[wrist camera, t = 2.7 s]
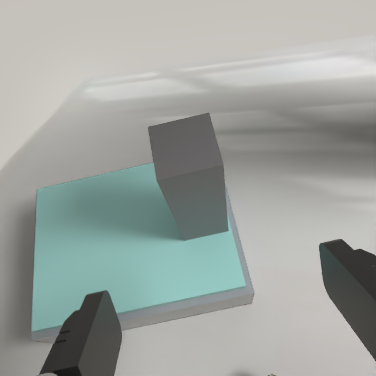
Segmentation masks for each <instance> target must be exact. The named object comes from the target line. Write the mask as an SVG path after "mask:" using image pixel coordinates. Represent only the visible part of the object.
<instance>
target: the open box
mask: <svg viewBox="0 0 376 376" xmlns="http://www.w3.org/2000/svg"><path fill="white" fill-rule="evenodd" d="M225 193H226V205H227V214H228V218H229V222H230V225H231V229H232V233H233V237H234V241H235V245H236V249H237V252H238V256H239V260H240V264H241V268H242V272H243V276H244V280H245V283H246V288H242V289H237V290H233V291H228V292H223V293H219V294H214V295H209V296H205V297H200V298H195V299H191V300H186V301H181V302H176V303H172V304H167V305H162V306H158V307H153V308H148V309H144V310H139V311H134V312H130V313H125V314H120V315H117V316H118V319H119V322H120V325H121V331H123V330H127V329H132V328H137V327H142V326H146V325H151V324H156V323H161V322H165V321H170V320H175V319H179V318H184V317H189V316H194V315H198V314H203V313H208V312H213V311H217V310H222V309H227V308H231V307H236V306H241V305H246V304H250V303H252V301H253V297H254V290H253V286H252V282H251V279H250V275H249V271H248V267H247V264H246V260H245V256H244V252H243V249H242V245H241V241H240V238H239V234H238V230H237V226H236V223H235V219H234V215H233V211H232V208H231V204H230V200H229V196H228V193H227V189H226V185H225ZM36 203H37V195H36ZM35 228H36V219H35ZM34 253H35V244H34ZM33 278H34V268H33ZM32 302H33V293H32ZM31 327H32V317H31ZM60 330H61V327H59V328H55V329H50V330H45V331H41V332H32V331H31V341H40V342H52V343H55V340H56V338H57V336H58V335H59V332H60Z"/></svg>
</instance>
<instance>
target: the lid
mask: <svg viewBox="0 0 376 376" xmlns="http://www.w3.org/2000/svg"><path fill="white" fill-rule="evenodd" d="M148 130H149V136H150V143H151V149H152V155H153V163H149V164H144V165H140V166H136V167H131V168H127V169H123V170H118V171H114V172H110V173H105V174H101V175H97V176H92V177H88V178H84V179H79V180H75V181H71V182H66V183H62V184H57V185H53V186H49V187H44V188H40V189H37V203H36V228H35V253H34V278H33V302H32V327H31V331H32V332H41V331H45V330H50V329H55V328H59V327H62V325H63V323H64V321H65V320H66V319H67V318H68V317H69V316H70V315H71V314H72V313H73V312H74V311H76V310H79V309H80V307H81V305H82V303H83V300H84V298H85V296H86V295H87V294H91V293H95V292H100V291H104V290H107V291H108V292H109V294H110V296H111V299H112V302H113V305H114V308H115V311H116V313H117V315H120V314H125V313H130V312H134V311H139V310H144V309H148V308H153V307H158V306H162V305H167V304H172V303H176V302H181V301H186V300H191V299H195V298H200V297H205V296H209V295H214V294H219V293H223V292H228V291H233V290H237V289H242V288H246V283H245V280H244V276H243V272H242V268H241V264H240V260H239V256H238V252H237V249H236V245H235V241H234V237H233V233H232V229H231V225H230V222H229V218H228V214H227V205H226V193H225V180H224V168H223V162H222V159H221V155H220V151H219V148H218V144H217V140H216V137H215V133H214V129H213V126H212V122H211V118H210V115H209V113H206V114H202V115H197V116H193V117H189V118H185V119H180V120H176V121H172V122H167V123H163V124H159V125H155V126H150V127H148Z"/></svg>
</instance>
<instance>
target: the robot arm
mask: <svg viewBox="0 0 376 376" xmlns="http://www.w3.org/2000/svg"><path fill="white" fill-rule="evenodd" d="M319 251H320V259H321V267H322V275H323V282H324V286H325V289H326V291H327V293H328V295H329V297H330V299H331V300H332V301H333V303H334V304H335V305H336V307H337V308H338V310H339V311H340V312H341V314H342V315H343V317H344V318H345V319H346V321H347V322H348V323H349V325H350V326H351V328H352V329H353V330H354V332H355V333H356V335H357V336H358V337H359V339H360V340H361V341H362V343H363V344H364V346H365V347H366V348H367V350H368V351H369V352H370V354H371V355H372V357H373V358H374V359H375V361H376V256H375V255H374V254H372V253H369V252H367V251H364V250H362V249H357V250H353V249H352V248H351V247H350V246H349V245H348V244H347V243H346V242H345V241H343V240H342V239H338V240H333V241H329V242H324V243H320V245H319ZM121 340H122V331H121V325H120V322H119V319H118V316H117V313H116V311H115V308H114V305H113V302H112V299H111V296H110V294H109V292H108V291H107V290H104V291H100V292H95V293H91V294H87V295H86V296H85V298H84V300H83V303H82V305H81V307H80V309H79V310H76V311H74V312H73V313H72V314H71V315H70V316H69V317H68V318H67V319H66V320H65V321H64V323H63V325H62V327H61V330H60V332H59V335H58V336H57V338H56V340H55V344H53V346H52V348H51V351H50V353H49V355H48V357H47V359H46V361H45V363H44V365H43V367H42V369H41V372H40V374H39V375H38V376H114V373H115V369H116V364H117V359H118V355H119V350H120V345H121Z"/></svg>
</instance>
